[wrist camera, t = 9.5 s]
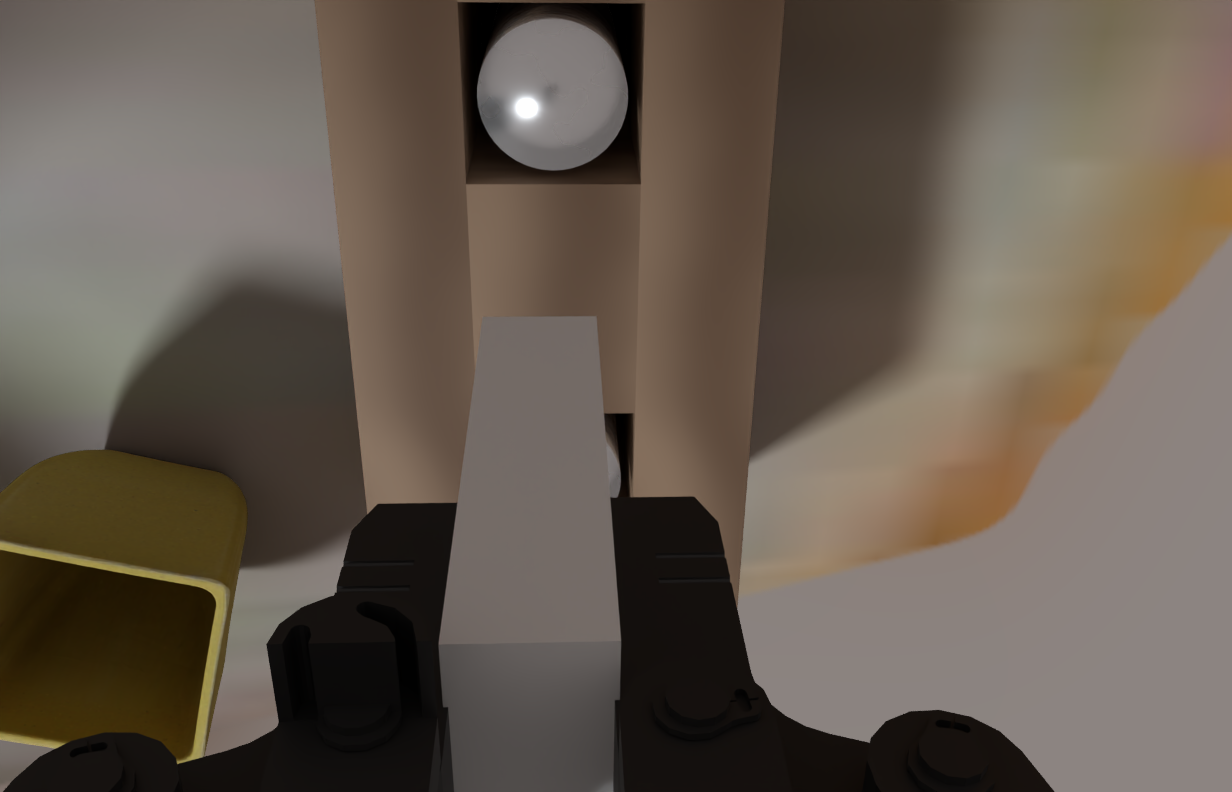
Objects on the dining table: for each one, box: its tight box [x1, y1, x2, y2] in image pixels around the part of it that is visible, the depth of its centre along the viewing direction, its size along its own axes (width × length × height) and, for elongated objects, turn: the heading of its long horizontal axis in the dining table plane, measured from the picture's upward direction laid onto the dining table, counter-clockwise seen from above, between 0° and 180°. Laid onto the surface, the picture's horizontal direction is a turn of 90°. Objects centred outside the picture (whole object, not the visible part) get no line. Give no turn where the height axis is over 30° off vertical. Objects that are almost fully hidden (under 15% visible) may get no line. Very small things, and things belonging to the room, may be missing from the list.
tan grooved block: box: [315, 0, 785, 606], centre depth 38 cm, size 12×24×9 cm, turn 179°
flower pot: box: [0, 450, 248, 764], centre depth 43 cm, size 9×9×9 cm
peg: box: [477, 2, 628, 170], centre depth 35 cm, size 4×4×9 cm
